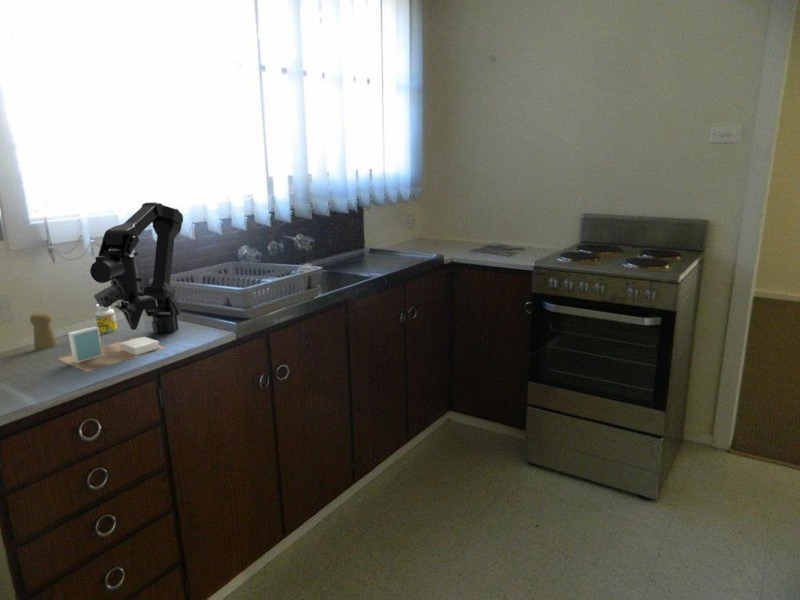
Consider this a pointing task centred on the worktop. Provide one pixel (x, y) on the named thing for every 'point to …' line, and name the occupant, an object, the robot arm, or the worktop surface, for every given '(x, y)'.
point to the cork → (43, 331)
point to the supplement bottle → (105, 319)
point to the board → (105, 357)
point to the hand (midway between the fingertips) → (133, 329)
